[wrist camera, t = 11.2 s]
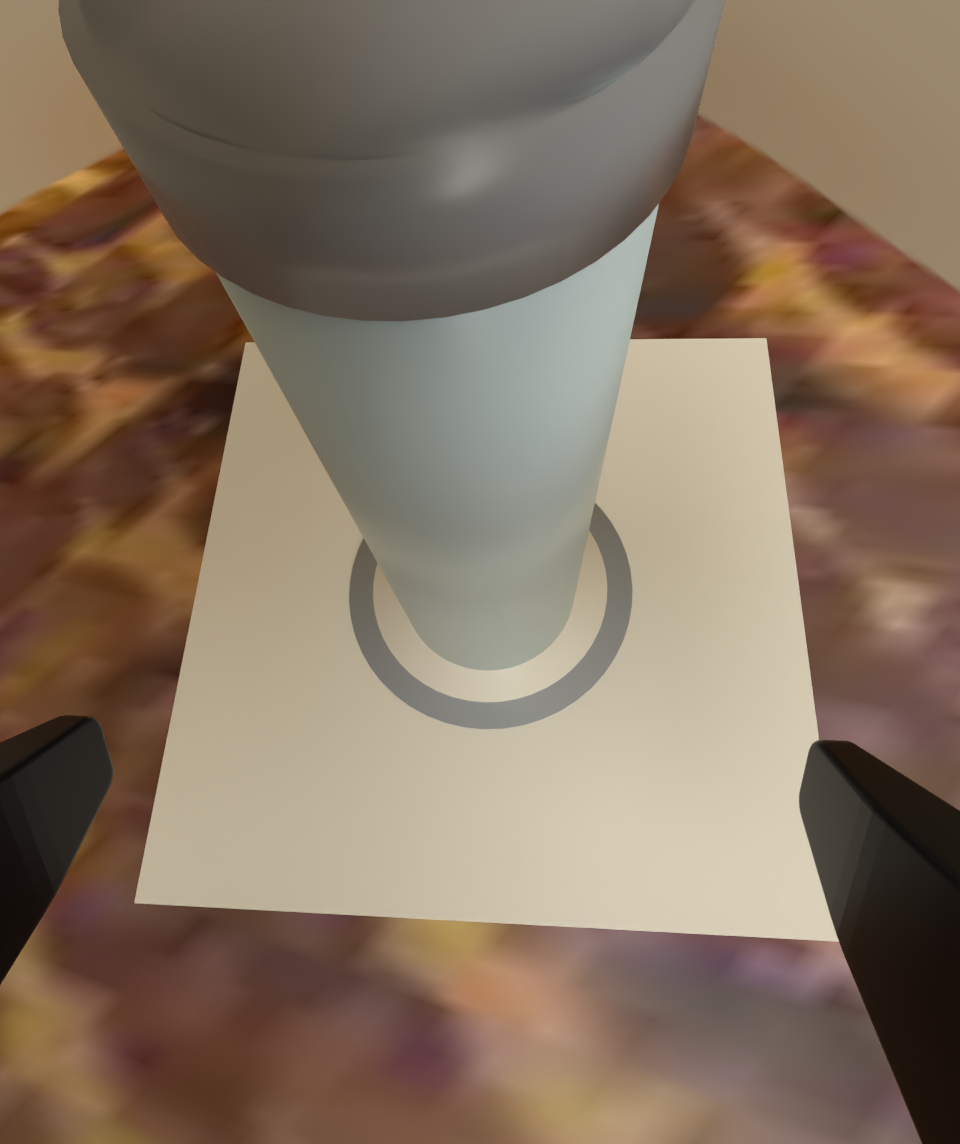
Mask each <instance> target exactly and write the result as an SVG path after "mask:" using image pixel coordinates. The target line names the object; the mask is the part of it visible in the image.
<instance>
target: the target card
mask: <svg viewBox="0 0 960 1144" xmlns="http://www.w3.org/2000/svg"><path fill="white" fill-rule="evenodd" d="M817 740H819V736H818V729H817V721H816V714H815V706H814V698H813V691H812V683H811V675H810V668H809V660H808V653H807V645H806V637H805V630H804V622H803V614H802V607H801V599H800V592H799V584H798V576H797V569H796V561H795V553H794V546H793V538H792V531H791V523H790V515H789V508H788V500H787V492H786V485H785V477H784V470H783V462H782V454H781V447H780V439H779V431H778V424H777V416H776V409H775V401H774V393H773V386H772V378H771V370H770V363H769V355H768V348H767V340H766V338H728V339H630V341H629V346H628V350H627V355H626V360H625V364H624V369H623V374H622V378H621V383H620V388H619V392H618V397H617V402H616V406H615V411H614V416H613V420H612V425H611V430H610V434H609V439H608V444H607V448H606V453H605V458H604V462H603V467H602V472H601V476H600V481H599V486H598V490H597V495H596V500H595V504H594V509H593V514H592V518H591V523H590V528H589V532H588V537H587V542H586V546H585V551H584V556H583V560H582V565H581V570H580V574H579V579H578V584H577V588H576V593H575V598H574V602H573V607H572V610H571V613H570V616H569V619H568V621H567V623H566V625H565V627H564V629H563V630H562V632H561V633H560V635H559V636H558V637H557V639H556V640H555V641H554V642H553V643H552V644H551V645H550V646H549V647H548V648H547V649H546V650H545V651H543V652H542V653H541V654H539V655H538V656H536V657H535V658H533V659H531V660H529V661H527V662H525V663H523V664H521V665H518V666H515V667H512V668H507V669H502V670H491V671H485V670H474V669H469V668H465V667H462V666H459V665H456V664H453V663H451V662H449V661H447V660H445V659H443V658H442V657H440V656H439V655H437V654H436V653H435V652H433V651H432V650H431V649H430V648H429V647H428V646H427V645H426V644H425V643H424V642H423V641H422V640H421V638H420V637H419V636H418V634H417V632H416V631H415V629H414V628H413V626H412V624H411V622H410V621H409V619H408V617H407V615H406V613H405V612H404V610H403V608H402V606H401V604H400V603H399V601H398V599H397V597H396V595H395V594H394V592H393V590H392V588H391V586H390V585H389V583H388V581H387V579H386V577H385V576H384V574H383V572H382V570H381V568H380V567H379V565H378V563H377V561H376V559H375V558H374V556H373V554H372V552H371V550H370V549H369V547H368V545H367V543H366V541H365V540H364V538H363V536H362V534H361V532H360V531H359V529H358V527H357V525H356V523H355V522H354V520H353V518H352V516H351V515H350V513H349V511H348V509H347V507H346V506H345V504H344V502H343V500H342V498H341V497H340V495H339V493H338V491H337V489H336V488H335V486H334V484H333V482H332V480H331V479H330V477H329V475H328V473H327V471H326V470H325V468H324V466H323V464H322V462H321V461H320V459H319V457H318V455H317V453H316V452H315V450H314V448H313V446H312V444H311V443H310V441H309V439H308V437H307V435H306V434H305V432H304V430H303V428H302V426H301V425H300V423H299V421H298V419H297V417H296V416H295V414H294V412H293V410H292V408H291V407H290V405H289V403H288V401H287V400H286V398H285V396H284V394H283V392H282V391H281V389H280V387H279V385H278V383H277V382H276V380H275V378H274V376H273V374H272V373H271V371H270V369H269V367H268V365H267V364H266V362H265V360H264V358H263V356H262V355H261V353H260V351H259V349H258V347H257V346H256V344H255V342H246V343H245V348H244V353H243V358H242V363H241V368H240V373H239V378H238V383H237V388H236V393H235V398H234V403H233V408H232V413H231V419H230V424H229V429H228V434H227V439H226V444H225V449H224V454H223V459H222V464H221V469H220V474H219V479H218V484H217V489H216V494H215V499H214V504H213V509H212V514H211V519H210V524H209V529H208V534H207V539H206V544H205V549H204V554H203V559H202V564H201V569H200V574H199V580H198V585H197V590H196V595H195V600H194V605H193V610H192V615H191V620H190V625H189V630H188V635H187V640H186V645H185V650H184V655H183V660H182V665H181V670H180V675H179V680H178V685H177V690H176V695H175V700H174V705H173V710H172V715H171V720H170V725H169V730H168V736H167V741H166V746H165V751H164V756H163V761H162V766H161V771H160V776H159V781H158V786H157V791H156V796H155V801H154V806H153V811H152V816H151V821H150V826H149V831H148V836H147V841H146V846H145V851H144V856H143V861H142V866H141V871H140V876H139V881H138V886H137V892H136V897H135V902H134V903H140V904H158V905H177V906H195V907H213V908H232V909H250V910H269V911H287V912H305V913H324V914H342V915H360V916H379V917H397V918H416V919H434V920H452V921H471V922H489V923H508V924H526V925H544V926H563V927H581V928H599V929H618V930H636V931H655V932H673V933H691V934H710V935H728V936H746V937H765V938H783V939H802V940H820V941H838V942H839V940H838V938H837V935H836V932H835V929H834V926H833V922H832V919H831V916H830V913H829V909H828V906H827V903H826V899H825V896H824V892H823V889H822V886H821V882H820V879H819V875H818V872H817V868H816V865H815V862H814V858H813V855H812V851H811V848H810V845H809V841H808V838H807V834H806V831H805V827H804V824H803V821H802V817H801V813H800V808H799V792H800V787H801V783H802V778H803V774H804V769H805V765H806V761H807V756H808V752H809V749H810V747H811V745H812V743H814V742H815V741H817Z"/></svg>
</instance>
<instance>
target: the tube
mask: <svg viewBox="0 0 960 1144" xmlns="http://www.w3.org/2000/svg"><path fill="white" fill-rule="evenodd" d="M724 3H725V0H59V15H60V22H61V28H62V34H63V38H64V41H65V43H66V46H67V48H68V51H69V53H70V56H71V58H72V61H73V63H74V65H75V67H76V68H77V70H78V72H79V73H80V75H81V77H82V79H83V80H84V82H85V84H86V85H87V87H88V88H89V90H90V92H91V94H92V95H93V97H94V99H95V101H96V102H97V104H98V105H99V107H100V109H101V111H102V112H103V114H104V116H105V117H106V119H107V121H108V123H109V124H110V126H111V128H112V129H113V131H114V133H115V134H116V136H117V138H118V139H119V141H120V143H121V145H122V146H123V148H124V150H125V151H126V153H127V155H128V156H129V158H130V160H131V162H132V163H133V165H134V167H135V168H136V170H137V172H138V173H139V175H140V177H141V178H142V180H143V182H144V184H145V185H146V187H147V189H148V190H149V192H150V194H151V195H152V197H153V199H154V200H155V202H156V204H157V206H158V207H159V209H160V211H161V212H162V214H163V216H164V217H165V219H166V220H167V222H168V223H169V225H170V226H171V228H172V229H173V231H174V232H175V234H176V235H177V237H178V238H179V239H180V240H181V241H182V242H183V243H184V244H185V245H186V246H187V248H188V249H189V250H190V251H191V252H192V253H193V254H194V255H195V256H196V257H197V258H198V259H199V260H200V261H202V262H203V263H204V264H206V265H207V266H208V267H210V268H211V269H212V270H214V271H215V272H216V274H217V276H218V277H219V279H220V281H221V283H222V285H223V286H224V288H225V290H226V292H227V293H228V295H229V297H230V299H231V301H232V302H233V304H234V306H235V308H236V310H237V311H238V313H239V315H240V317H241V319H242V320H243V322H244V324H245V326H246V328H247V329H248V331H249V333H250V335H251V337H252V338H253V340H254V342H255V344H256V346H257V347H258V349H259V351H260V353H261V355H262V356H263V358H264V360H265V362H266V364H267V365H268V367H269V369H270V371H271V373H272V374H273V376H274V378H275V380H276V382H277V383H278V385H279V387H280V389H281V391H282V392H283V394H284V396H285V398H286V400H287V401H288V403H289V405H290V407H291V408H292V410H293V412H294V414H295V416H296V417H297V419H298V421H299V423H300V425H301V426H302V428H303V430H304V432H305V434H306V435H307V437H308V439H309V441H310V443H311V444H312V446H313V448H314V450H315V452H316V453H317V455H318V457H319V459H320V461H321V462H322V464H323V466H324V468H325V470H326V471H327V473H328V475H329V477H330V479H331V480H332V482H333V484H334V486H335V488H336V489H337V491H338V493H339V495H340V497H341V498H342V500H343V502H344V504H345V506H346V507H347V509H348V511H349V513H350V515H351V516H352V518H353V520H354V522H355V523H356V525H357V527H358V529H359V531H360V532H361V534H362V536H363V538H364V540H365V541H366V543H367V545H368V547H369V549H370V550H371V552H372V554H373V556H374V558H375V559H376V561H377V563H378V565H379V567H380V568H381V570H382V572H383V574H384V576H385V577H386V579H387V581H388V583H389V585H390V586H391V588H392V590H393V592H394V594H395V595H396V597H397V599H398V601H399V603H400V604H401V606H402V608H403V610H404V612H405V613H406V615H407V617H408V619H409V621H410V622H411V624H412V626H413V628H414V629H415V631H416V632H417V634H418V636H419V637H420V638H421V640H422V641H423V642H424V643H425V644H426V645H427V646H428V647H429V648H430V649H431V650H432V651H433V652H435V653H436V654H437V655H439V656H440V657H442V658H443V659H445V660H447V661H449V662H451V663H453V664H456V665H459V666H462V667H465V668H469V669H474V670H485V671H491V670H502V669H507V668H512V667H515V666H518V665H521V664H523V663H525V662H527V661H529V660H531V659H533V658H535V657H536V656H538V655H539V654H541V653H542V652H543V651H545V650H546V649H547V648H548V647H549V646H550V645H551V644H552V643H553V642H554V641H555V640H556V639H557V637H558V636H559V635H560V633H561V632H562V630H563V629H564V627H565V625H566V623H567V621H568V619H569V616H570V613H571V610H572V607H573V602H574V598H575V593H576V588H577V584H578V579H579V574H580V570H581V565H582V560H583V556H584V551H585V546H586V542H587V537H588V532H589V528H590V523H591V518H592V514H593V509H594V504H595V500H596V495H597V490H598V486H599V481H600V476H601V472H602V467H603V462H604V458H605V453H606V448H607V444H608V439H609V434H610V430H611V425H612V420H613V416H614V411H615V406H616V402H617V397H618V392H619V388H620V383H621V378H622V374H623V369H624V364H625V360H626V355H627V350H628V346H629V341H630V336H631V332H632V327H633V322H634V318H635V313H636V308H637V304H638V299H639V294H640V290H641V285H642V280H643V276H644V271H645V266H646V262H647V257H648V252H649V248H650V243H651V238H652V234H653V229H654V224H655V220H656V215H657V210H658V206H659V203H660V201H661V200H662V199H663V197H664V196H665V195H666V193H667V192H668V191H669V189H670V187H671V185H672V184H673V182H674V180H675V178H676V176H677V174H678V172H679V171H680V169H681V167H682V165H683V163H684V160H685V157H686V154H687V151H688V148H689V145H690V142H691V139H692V135H693V131H694V127H695V123H696V119H697V114H698V110H699V106H700V102H701V97H702V94H703V89H704V85H705V81H706V77H707V73H708V69H709V65H710V61H711V56H712V52H713V48H714V44H715V39H716V36H717V32H718V27H719V23H720V19H721V15H722V11H723V6H724Z"/></svg>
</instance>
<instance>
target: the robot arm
mask: <svg viewBox="0 0 960 1144" xmlns="http://www.w3.org/2000/svg"><path fill="white" fill-rule="evenodd" d="M112 777H113V766H112V762H111V758H110V755H109V751H108V748H107V744H106V741H105V738H104V734H103V731H102V727H101V725H100V723H99V722H98V720H97V719H96V718H94V717H91V716H75V715H64V716H60V717H57V718H55V719H52V720H50V721H48V722H46V723H43V724H41V725H39V726H37V727H35V728H32V729H30V730H28V731H26V732H23V733H21V734H19V735H17V736H14V737H12V738H10V739H8V740H5V741H3V742H1V743H0V984H1V983H2V981H3V979H4V978H5V976H6V975H7V973H8V971H9V970H10V968H11V967H12V965H13V963H14V962H15V960H16V958H17V957H18V955H19V954H20V952H21V950H22V949H23V947H24V946H25V944H26V942H27V941H28V939H29V937H30V936H31V934H32V933H33V931H34V929H35V928H36V926H37V925H38V923H39V921H40V920H41V918H42V917H43V915H44V913H45V912H46V910H47V908H48V906H49V905H50V903H51V901H52V900H53V898H54V896H55V895H56V893H57V891H58V889H59V887H60V885H61V883H62V881H63V879H64V878H65V876H66V874H67V872H68V870H69V868H70V866H71V864H72V862H73V860H74V858H75V856H76V854H77V852H78V850H79V848H80V846H81V844H82V842H83V840H84V838H85V836H86V834H87V832H88V830H89V828H90V826H91V824H92V822H93V820H94V818H95V816H96V813H97V811H98V809H99V807H100V805H101V803H102V801H103V799H104V797H105V795H106V793H107V791H108V789H109V787H110V785H111V781H112ZM799 808H800V813H801V817H802V821H803V824H804V827H805V831H806V834H807V838H808V841H809V845H810V848H811V851H812V855H813V858H814V862H815V865H816V868H817V872H818V875H819V879H820V882H821V886H822V889H823V892H824V896H825V899H826V903H827V906H828V909H829V913H830V916H831V919H832V922H833V926H834V929H835V932H836V935H837V938H838V940H839V943H840V945H841V948H842V951H843V953H844V956H845V958H846V961H847V963H848V966H849V968H850V970H851V973H852V975H853V978H854V980H855V983H856V985H857V987H858V990H859V992H860V995H861V997H862V1000H863V1002H864V1004H865V1007H866V1009H867V1012H868V1014H869V1016H870V1019H871V1021H872V1024H873V1026H874V1029H875V1031H876V1033H877V1036H878V1038H879V1041H880V1043H881V1046H882V1048H883V1050H884V1053H885V1055H886V1058H887V1060H888V1062H889V1065H890V1067H891V1070H892V1072H893V1075H894V1077H895V1079H896V1082H897V1084H898V1087H899V1089H900V1091H901V1094H902V1096H903V1099H904V1101H905V1104H906V1106H907V1108H908V1111H909V1113H910V1116H911V1118H912V1121H913V1123H914V1125H915V1128H916V1130H917V1133H918V1135H919V1137H920V1140H921V1142H922V1144H960V811H959V810H958V809H956V808H955V807H953V806H951V805H950V804H948V803H947V802H945V801H944V800H942V799H940V798H939V797H937V796H936V795H934V794H933V793H931V792H929V791H928V790H926V789H925V788H923V787H922V786H920V785H918V784H917V783H915V782H914V781H912V780H911V779H909V778H907V777H906V776H904V775H903V774H901V773H900V772H898V771H896V770H895V769H893V768H892V767H890V766H888V765H887V764H885V763H884V762H882V761H881V760H879V759H877V758H876V757H874V756H873V755H871V754H870V753H868V752H866V751H865V750H863V749H862V748H860V747H859V746H857V745H855V744H854V743H852V742H849V741H835V740H817V741H815V742H814V743H812V745H811V747H810V749H809V752H808V756H807V761H806V765H805V769H804V774H803V778H802V783H801V787H800V792H799Z"/></svg>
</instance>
